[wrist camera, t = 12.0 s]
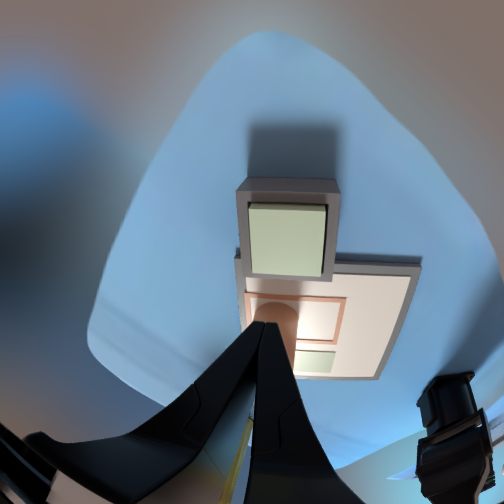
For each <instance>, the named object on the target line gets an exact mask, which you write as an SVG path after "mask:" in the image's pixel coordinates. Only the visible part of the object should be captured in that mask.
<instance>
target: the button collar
mask: <svg viewBox="0 0 504 504" xmlns="http://www.w3.org/2000/svg"><path fill="white" fill-rule="evenodd" d="M340 195H341V194H340V191H339V188H338V186H337V183H336V180H333V179H311V178H264V177H253V178H246V179H245V180H244V182H243V183H242V184H241V185H240V186H239V188H238V189H237V190H236V202H237V215H238V228H239V240H240V252H241V265H242V276H243V277H249V278H264V279H281V280H299V281H318V282H332V278H333V270H334V262H335V253H336V244H337V234H338V222H339V210H340ZM253 201H255V202H296V203H321V204H325V211H326V214H325V230H324V244H323V256H322V267H321V277H313V276H294V275H276V274H259V273H252V258H251V241H250V225H249V207H250V206H251V204H252V202H253Z"/></svg>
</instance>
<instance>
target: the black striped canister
mask: <svg viewBox="0 0 504 504" xmlns="http://www.w3.org/2000/svg"><path fill="white" fill-rule="evenodd" d="M488 458H489V466H490V472H489V475H488V477H487V479H486V481H485V484H484V486H483V488H482V490H481V492H483V491H485V490H487V489H489V488H491V487H493V486H495V480H493V479H495V476H494V475H495V474H494V471H493V465H492V461H493V458H492V454H491V455H489V456H488ZM481 492H480V493H481Z"/></svg>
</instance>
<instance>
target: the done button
mask: <svg viewBox="0 0 504 504" xmlns="http://www.w3.org/2000/svg"><path fill="white" fill-rule="evenodd" d="M325 214H326V211H325V205H324V204H321V203H296V202H255V201H253V202H252V204H251V206H250V207H249V225H250V241H251V258H252V273H259V274H276V275H294V276H313V277H321V267H322V256H323V244H324V230H325Z"/></svg>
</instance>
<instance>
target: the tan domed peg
mask: <svg viewBox="0 0 504 504" xmlns="http://www.w3.org/2000/svg"><path fill="white" fill-rule="evenodd" d="M255 320H256V321H264V322H265V323H266V322H277V323H278V325H279V328H280V332H281V335H282V338H283V341H284V344H285V347H286V351H287V354H288V357H289V360H290V363H291V366H292V370H293V369H294V360H295V350H296V340H297V330H298V315H297V313H296V311H295V310H294V309H293V308H292V307H290V306H289V305H287V304H284V303H280V302H268V303H265V304H263V305H261V306H260V307H258V308H257V310H256V311H255V314H254V318H253V321H255Z"/></svg>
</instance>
